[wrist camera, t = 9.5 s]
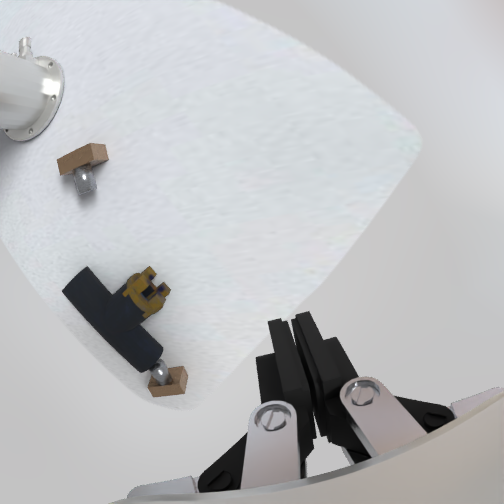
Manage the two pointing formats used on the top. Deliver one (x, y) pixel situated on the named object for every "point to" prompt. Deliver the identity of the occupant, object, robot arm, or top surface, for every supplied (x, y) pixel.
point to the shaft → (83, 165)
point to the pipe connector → (121, 313)
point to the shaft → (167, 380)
